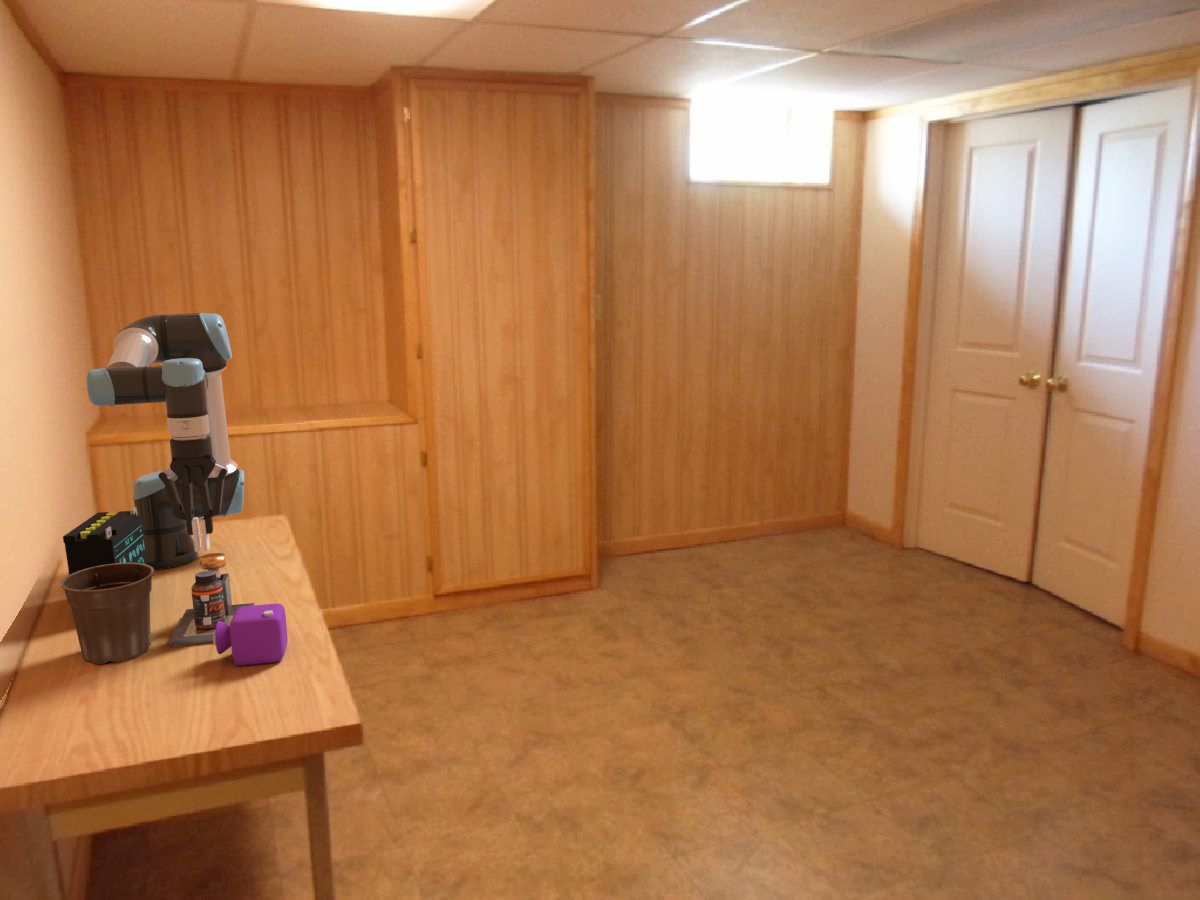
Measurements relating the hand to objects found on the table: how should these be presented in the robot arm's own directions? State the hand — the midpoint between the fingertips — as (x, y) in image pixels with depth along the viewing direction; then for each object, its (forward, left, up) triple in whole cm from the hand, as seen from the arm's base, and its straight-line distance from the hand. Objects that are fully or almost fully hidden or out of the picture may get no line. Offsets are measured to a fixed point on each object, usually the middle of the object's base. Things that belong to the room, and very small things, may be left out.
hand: (202, 549), depth 188 cm
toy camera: (+15, +10, -19) cm, 26 cm away
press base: (-4, 0, -18) cm, 19 cm away
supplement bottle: (0, 0, -17) cm, 17 cm away
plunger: (-9, 0, -12) cm, 15 cm away
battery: (-25, -25, -19) cm, 40 cm away
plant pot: (+5, -17, -19) cm, 25 cm away
